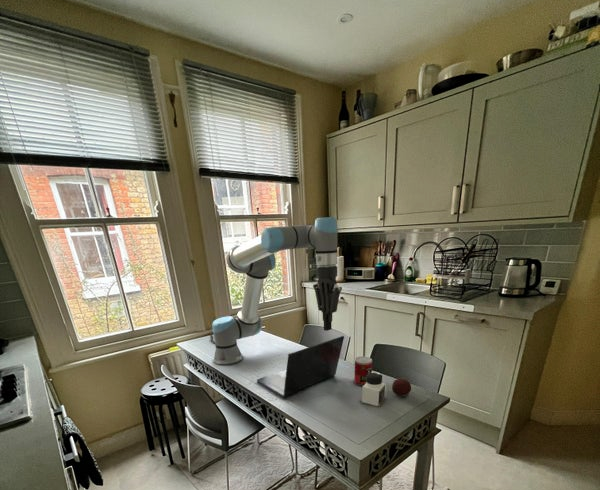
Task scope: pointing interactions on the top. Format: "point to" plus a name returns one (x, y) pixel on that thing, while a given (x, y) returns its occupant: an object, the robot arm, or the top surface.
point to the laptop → (280, 383)
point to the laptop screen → (312, 365)
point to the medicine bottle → (373, 389)
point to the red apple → (401, 387)
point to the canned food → (362, 369)
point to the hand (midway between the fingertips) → (327, 329)
